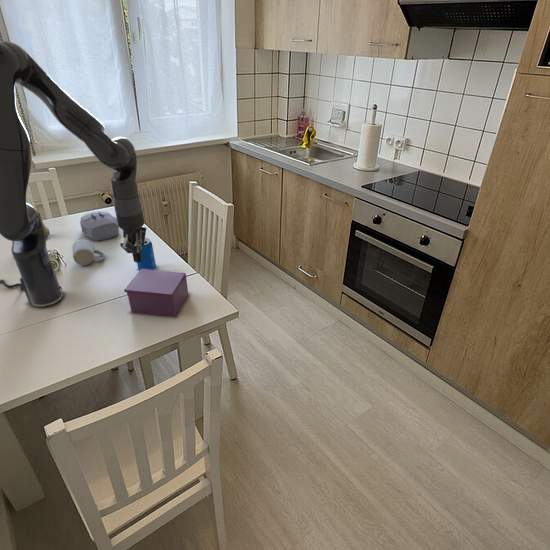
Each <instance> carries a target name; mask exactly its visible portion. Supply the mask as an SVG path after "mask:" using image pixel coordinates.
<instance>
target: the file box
mask: <svg viewBox="0 0 550 550" xmlns="http://www.w3.org/2000/svg"><path fill="white" fill-rule="evenodd" d="M126 295H127V299H128V303H129V307H130V311H131V313H133V314H134V313H136V314H144V315H155V316H164V317H173V318H174V317H175V318H176V316H177V315H178V313H179V311H180V310H181V308H182V306H183V304H184V303H185V301H186V299H187V297H188V296H189V287H188V281H187V274H186V275H185V277H184V278H183V280H182V282H181V283H180V285H179V286H178V288H177V290H176V291H175V293H174V294H173V296H172V297H171V296H162V295H152V294H142V293H132V292H126Z"/></svg>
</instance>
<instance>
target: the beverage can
mask: <svg viewBox="0 0 550 550" xmlns="http://www.w3.org/2000/svg"><path fill="white" fill-rule="evenodd" d="M141 254H142V261H141V262H140V263H136V265H137V270H138V272H139V271H140V270H141V269H150V270H157V265H156V257H155V253H154V247H153V242H152V241H151V239H150V238H148V237H145V241H144V246H142V250H141Z"/></svg>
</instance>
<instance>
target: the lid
mask: <svg viewBox="0 0 550 550" xmlns="http://www.w3.org/2000/svg"><path fill="white" fill-rule="evenodd" d="M185 275H186V276H187V274H186V272H180V271H170V270H162V269H161V270H159V269H155V270H150V269H141V270H140V271H139V270H138V272H137V273H136V275H134V277H133V278H132V279H131V280H130V282H129V283H128V284H127V286H126V287H125V288H123V292H125V293H127V292H132V293H142V294H152V295H162V296H171V297H172V296H173V294H174V293H175V291H176V290H177V288H178V286H179V285H180V283H181V282H182V280H183V278H184V277H185Z"/></svg>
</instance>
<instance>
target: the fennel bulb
mask: <svg viewBox="0 0 550 550" xmlns="http://www.w3.org/2000/svg"><path fill="white" fill-rule="evenodd" d="M35 210H36V211H37V213H38V215H39V217H40V220H41V223H42V227H43V230H44V234H45V237H46V238H47V237H49V235H50V229H49V228H48V227H47V225H45V223H44V222H43V219H42V217H41V213H40V211H38V210H37V209H35Z"/></svg>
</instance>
